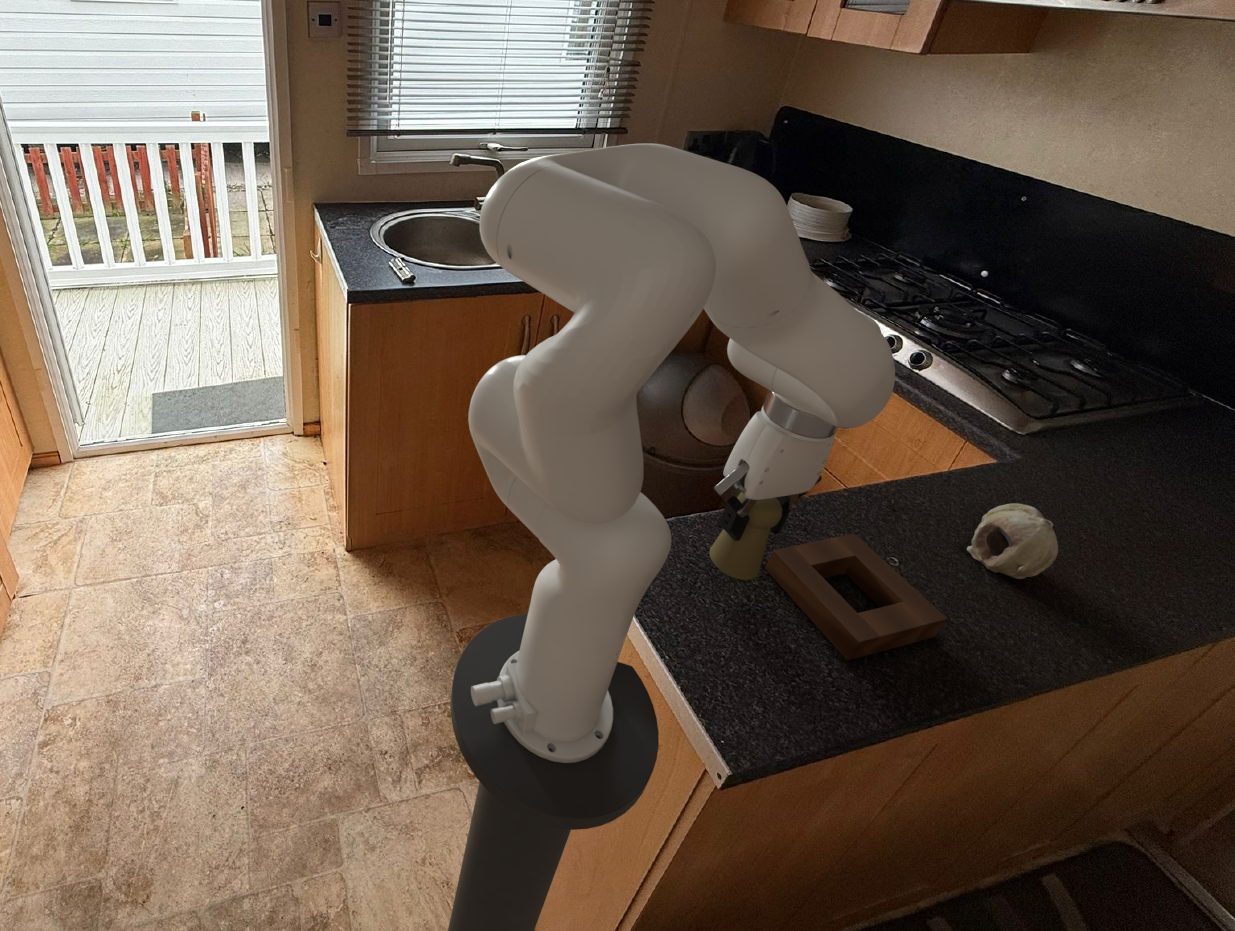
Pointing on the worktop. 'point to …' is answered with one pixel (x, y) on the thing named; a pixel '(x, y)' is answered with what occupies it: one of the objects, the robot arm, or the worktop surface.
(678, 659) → the worktop surface
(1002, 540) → the cream hollow round shell
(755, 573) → the cork
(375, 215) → the worktop surface
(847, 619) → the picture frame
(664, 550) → the robot arm
